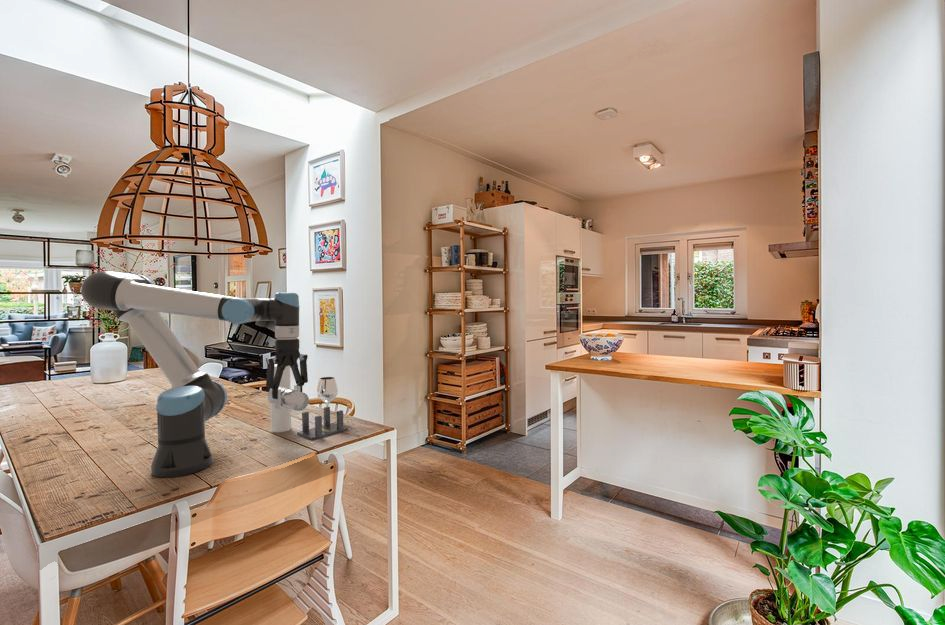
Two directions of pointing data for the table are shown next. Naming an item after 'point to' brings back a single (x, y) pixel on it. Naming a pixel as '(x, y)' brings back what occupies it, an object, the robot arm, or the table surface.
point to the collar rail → (319, 429)
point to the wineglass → (327, 391)
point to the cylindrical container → (283, 415)
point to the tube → (291, 399)
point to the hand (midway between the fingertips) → (287, 406)
